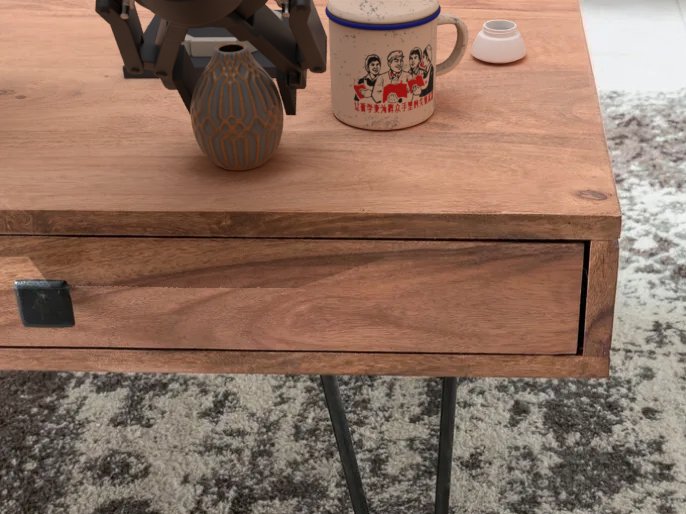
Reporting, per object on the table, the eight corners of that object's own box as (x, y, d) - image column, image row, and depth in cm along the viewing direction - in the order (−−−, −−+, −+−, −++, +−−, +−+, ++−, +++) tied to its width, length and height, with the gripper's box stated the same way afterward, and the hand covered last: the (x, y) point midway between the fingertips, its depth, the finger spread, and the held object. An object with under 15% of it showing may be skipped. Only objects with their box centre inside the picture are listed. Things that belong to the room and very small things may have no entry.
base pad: (123, 78, 95) (119, 50, 94) (158, 20, 108) (155, -5, 106) (299, 77, 94) (298, 50, 93) (313, 19, 107) (312, -6, 106)
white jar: (522, 47, 99) (469, 47, 99) (525, 15, 97) (471, 16, 98) (527, 66, 95) (472, 66, 95) (530, 33, 93) (474, 34, 94)
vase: (220, 188, 77) (208, 71, 72) (181, 154, 82) (167, 43, 76) (302, 164, 80) (296, 51, 75) (260, 133, 85) (251, 24, 79)
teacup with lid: (351, 140, 83) (347, -10, 76) (314, 99, 90) (308, -42, 83) (487, 116, 86) (496, -30, 79) (442, 78, 93) (446, -59, 86)
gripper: (4, -3, 59) (115, 145, 82) (355, -5, 58) (369, 145, 81) (13, -126, 60) (120, 53, 83) (358, -130, 59) (371, 52, 82)
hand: (243, 98), depth 82 cm, fingers closed on vase, 7 cm apart
